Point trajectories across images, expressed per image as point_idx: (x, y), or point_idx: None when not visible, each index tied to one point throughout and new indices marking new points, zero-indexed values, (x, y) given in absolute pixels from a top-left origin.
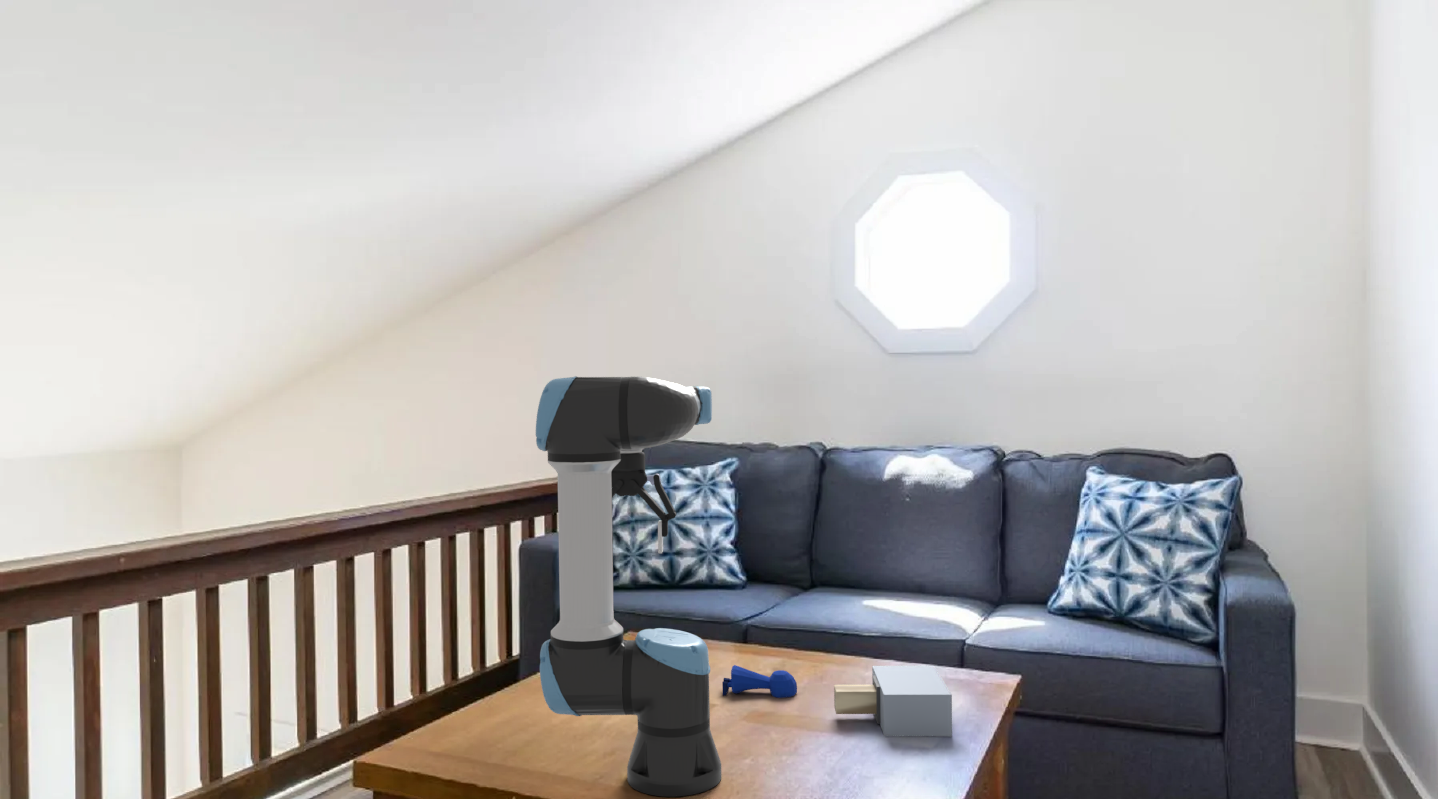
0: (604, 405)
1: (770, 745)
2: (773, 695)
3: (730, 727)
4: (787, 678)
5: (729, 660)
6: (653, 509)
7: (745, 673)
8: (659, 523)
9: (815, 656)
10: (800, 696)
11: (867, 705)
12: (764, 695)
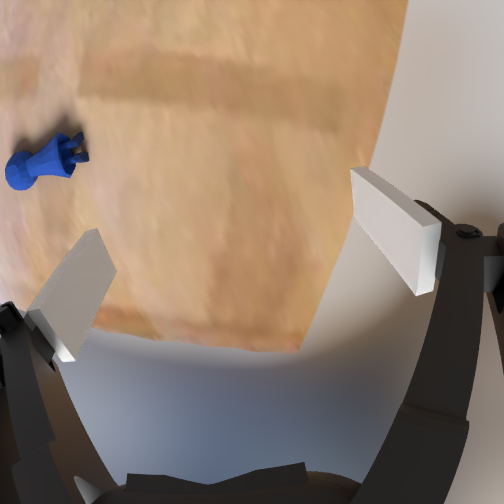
0: None
1: (6, 8)
2: (29, 152)
3: (45, 28)
4: (6, 166)
5: (135, 280)
6: (27, 365)
7: (44, 154)
8: (36, 305)
9: None
10: None
11: None
12: None
